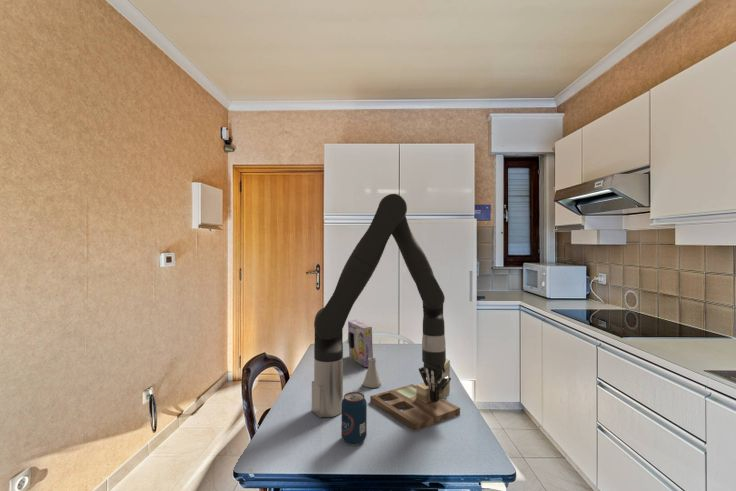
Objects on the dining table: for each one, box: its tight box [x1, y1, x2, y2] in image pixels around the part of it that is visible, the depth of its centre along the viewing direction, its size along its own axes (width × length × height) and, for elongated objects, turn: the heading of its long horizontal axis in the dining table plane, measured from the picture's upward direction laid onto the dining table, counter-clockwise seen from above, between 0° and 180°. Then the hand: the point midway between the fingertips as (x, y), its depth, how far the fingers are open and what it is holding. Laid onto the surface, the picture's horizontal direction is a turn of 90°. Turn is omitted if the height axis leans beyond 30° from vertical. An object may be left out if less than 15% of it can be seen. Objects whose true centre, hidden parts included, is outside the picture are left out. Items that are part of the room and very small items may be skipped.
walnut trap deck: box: [369, 383, 461, 432], centre depth 118 cm, size 19×23×2 cm
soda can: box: [340, 391, 368, 446], centre depth 98 cm, size 7×7×12 cm
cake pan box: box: [347, 319, 374, 368], centre depth 165 cm, size 19×5×18 cm, turn 25°
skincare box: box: [436, 358, 451, 400], centre depth 128 cm, size 6×4×12 cm
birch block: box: [415, 382, 431, 403], centre depth 120 cm, size 4×4×4 cm
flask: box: [362, 357, 382, 389], centre depth 137 cm, size 7×7×10 cm
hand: (434, 401), depth 116 cm, fingers closed
